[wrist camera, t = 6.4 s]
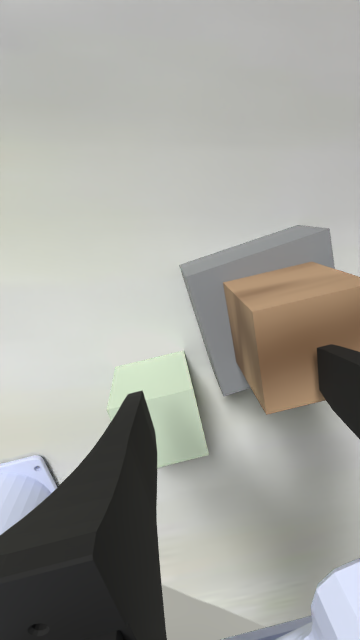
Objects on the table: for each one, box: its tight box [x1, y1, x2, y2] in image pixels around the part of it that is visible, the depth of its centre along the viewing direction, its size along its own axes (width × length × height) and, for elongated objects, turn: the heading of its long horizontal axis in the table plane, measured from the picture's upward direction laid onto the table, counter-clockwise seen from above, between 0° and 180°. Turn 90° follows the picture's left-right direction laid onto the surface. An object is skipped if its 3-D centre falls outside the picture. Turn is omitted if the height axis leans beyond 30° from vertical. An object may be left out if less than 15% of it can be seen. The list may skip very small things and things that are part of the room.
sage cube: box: [107, 351, 209, 468], centre depth 20 cm, size 5×5×5 cm
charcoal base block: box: [179, 225, 335, 396], centre depth 19 cm, size 8×8×4 cm
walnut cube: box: [223, 262, 360, 415], centre depth 15 cm, size 5×5×5 cm
